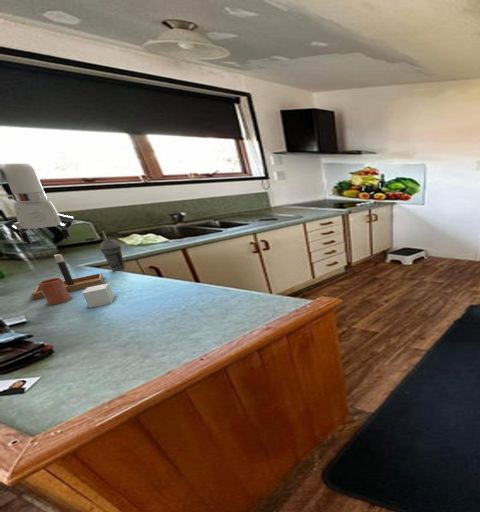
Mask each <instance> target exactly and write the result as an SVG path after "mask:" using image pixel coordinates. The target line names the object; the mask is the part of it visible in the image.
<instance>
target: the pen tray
mask: <svg viewBox="0 0 480 512" xmlns="http://www.w3.org/2000/svg"><path fill="white" fill-rule="evenodd" d="M102 273H103V272H100V273H96V274H91V275H90V274H89V275H85V276H81V277H77V278H76V277H75V278H72V280H73V282H74V284H75V285H70V286H67V284H66V281H65V280H63V282H64V284H65V286H66V288H67V291H68V293H69V292H75V291H78V290H82V289H86V288H87V287H92V286H97V285H102V284H104V275H103V274H102ZM31 296H32V298H33V300H37V299H42V298H45V296H44V294H43V292H42V290H41V288H40V286H39V285H37V286H36V287H35V288H34V290H33V292H32V293H31Z"/></svg>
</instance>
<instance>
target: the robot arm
mask: <svg viewBox="0 0 480 512" xmlns="http://www.w3.org/2000/svg"><path fill="white" fill-rule="evenodd" d="M5 184H7V185H8V186H9V189H10V191H11V193H12V194H10V195H6V196H7V199H8V200H13V201H14V202H13V203H12V206H13V211H14V214H15V218H14V219H12V220H10V221H8V222H5V223H4V224H3V225H4V226H5V227H6V228H7V229H9V230H10V231H12V232H15V233H17V234H19V235H21V238H22V240H23V242H24V243H26V244H27V245H31V244H32V243H33V241H32V240H33V239H31V236H30V233H28V230H32V229H43V228H52V227H58V228H60V229H61V232H62V235H63V238H64V240H69V238H70V237H71V235H70V232H69V228H70V226H72V224H73V222H74V217H73V216H70V215H69V216H68V215H64V214H60V213H59V212H58V211H57V209H56V207H55V205H54V204H53V202H52V201H51V200H50V199H48V198H47V195H46V193H45V190H44V188H43V186H42V184H41V181H40V177H39V175H38V173H37V169H36V168H35V166H34V165H32V164H30V163H4V164H3V163H2V164H1V163H0V185H5ZM62 219H63V220H67V222H66V223H65V224H64V223H62ZM17 223H18V225H19V227H20V228H19V227H16V226H15V225H14V224H17Z"/></svg>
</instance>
